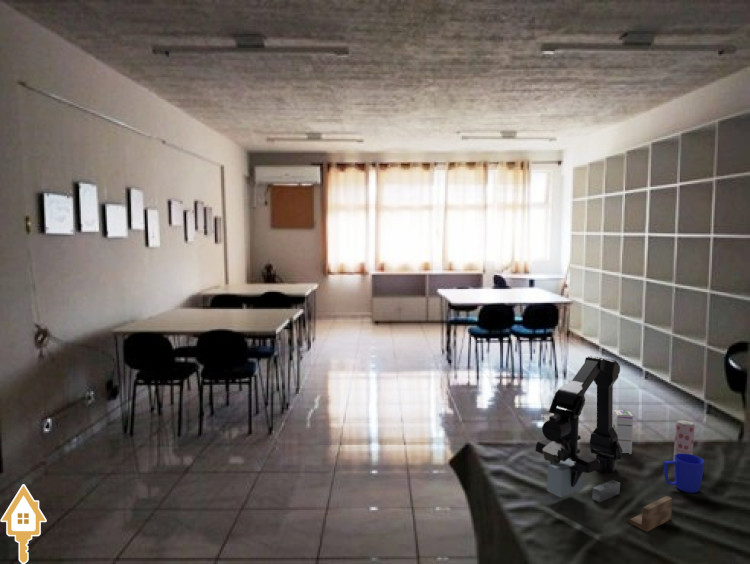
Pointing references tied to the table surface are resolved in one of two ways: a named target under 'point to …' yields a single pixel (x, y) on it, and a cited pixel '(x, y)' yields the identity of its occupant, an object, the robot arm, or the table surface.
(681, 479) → the mug
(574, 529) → the table surface
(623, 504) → the table surface
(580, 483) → the blue-grey rectangular block
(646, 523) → the shelf
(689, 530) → the table surface
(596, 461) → the robot arm
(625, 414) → the syrup box
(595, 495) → the grey rectangular block
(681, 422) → the beverage can
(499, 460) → the table surface
